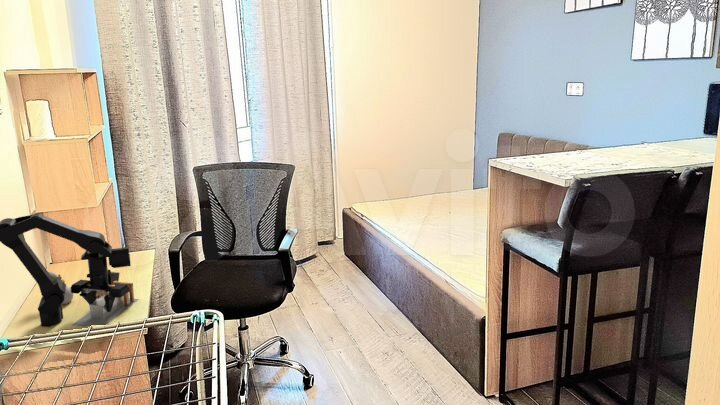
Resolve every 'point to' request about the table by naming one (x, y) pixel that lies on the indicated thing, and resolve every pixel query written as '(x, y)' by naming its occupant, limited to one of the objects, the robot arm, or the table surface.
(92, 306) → the grey long block
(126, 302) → the collar
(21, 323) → the table surface
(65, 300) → the white faceted ball
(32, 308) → the table surface
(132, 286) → the angle bracket
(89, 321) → the board
